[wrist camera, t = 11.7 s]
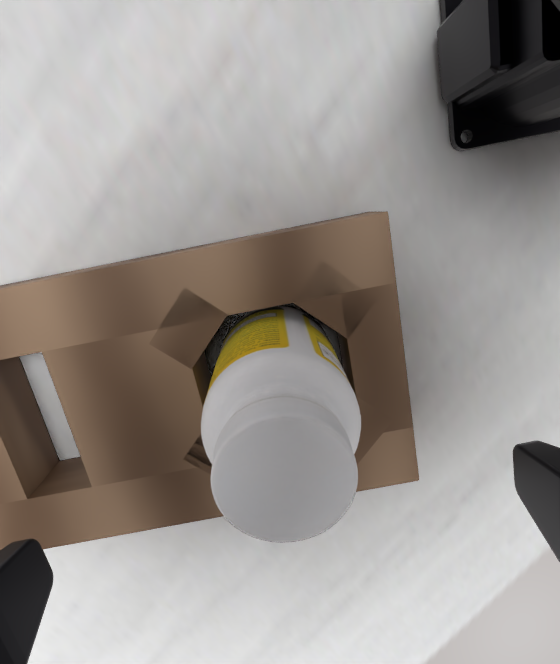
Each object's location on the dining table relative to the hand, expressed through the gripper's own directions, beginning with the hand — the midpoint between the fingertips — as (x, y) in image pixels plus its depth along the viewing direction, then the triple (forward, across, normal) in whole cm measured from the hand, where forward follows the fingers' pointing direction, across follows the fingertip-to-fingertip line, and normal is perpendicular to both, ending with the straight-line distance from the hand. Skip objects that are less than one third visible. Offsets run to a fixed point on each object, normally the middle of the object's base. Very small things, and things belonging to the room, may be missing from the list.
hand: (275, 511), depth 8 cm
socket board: (+13, +5, +2) cm, 14 cm away
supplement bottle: (+13, 0, +2) cm, 13 cm away
